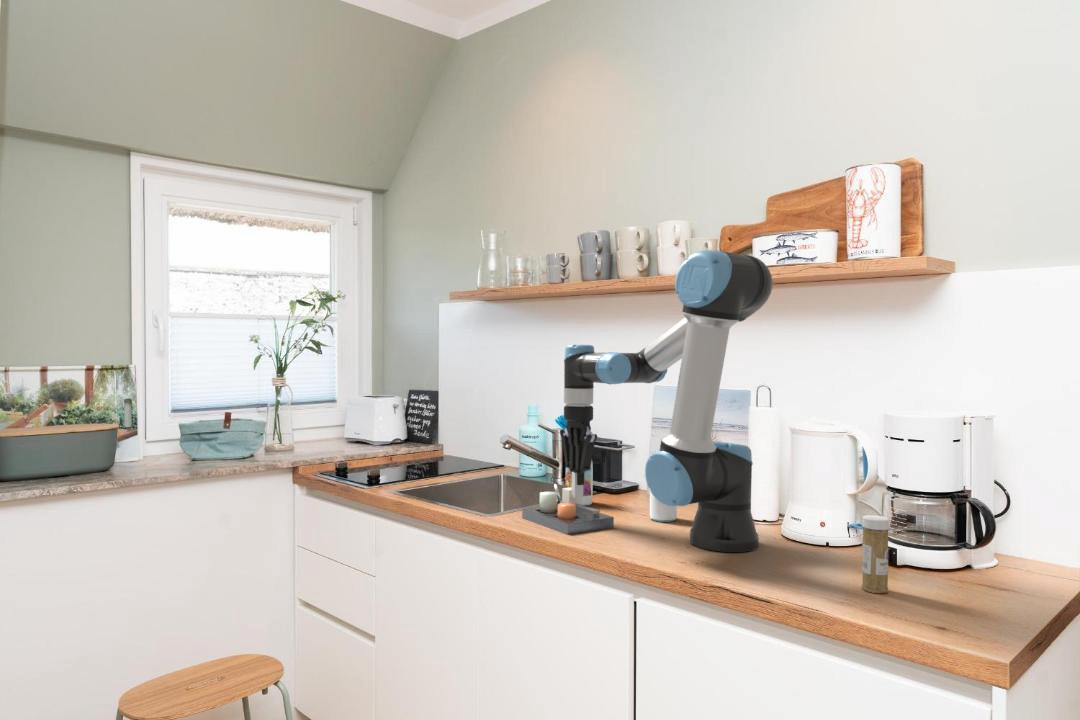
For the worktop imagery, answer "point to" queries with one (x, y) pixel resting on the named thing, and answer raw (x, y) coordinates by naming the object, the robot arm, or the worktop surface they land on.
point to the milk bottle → (586, 487)
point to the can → (661, 510)
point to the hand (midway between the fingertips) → (577, 497)
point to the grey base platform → (584, 519)
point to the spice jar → (875, 553)
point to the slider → (569, 496)
